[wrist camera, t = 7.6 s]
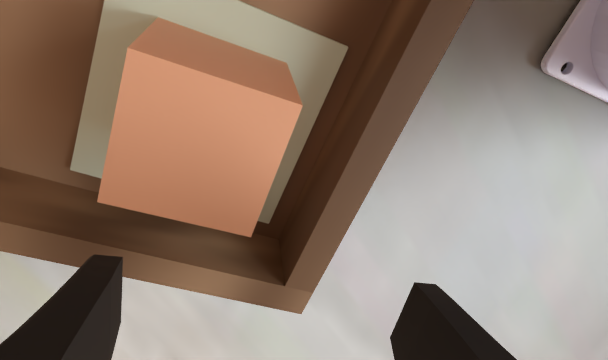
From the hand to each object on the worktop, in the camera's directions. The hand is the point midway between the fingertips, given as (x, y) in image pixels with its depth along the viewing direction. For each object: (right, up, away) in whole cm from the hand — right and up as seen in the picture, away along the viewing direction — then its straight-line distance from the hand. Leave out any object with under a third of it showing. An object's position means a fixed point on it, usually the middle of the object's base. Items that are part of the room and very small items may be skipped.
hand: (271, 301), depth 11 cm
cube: (-3, +6, +5) cm, 8 cm away
